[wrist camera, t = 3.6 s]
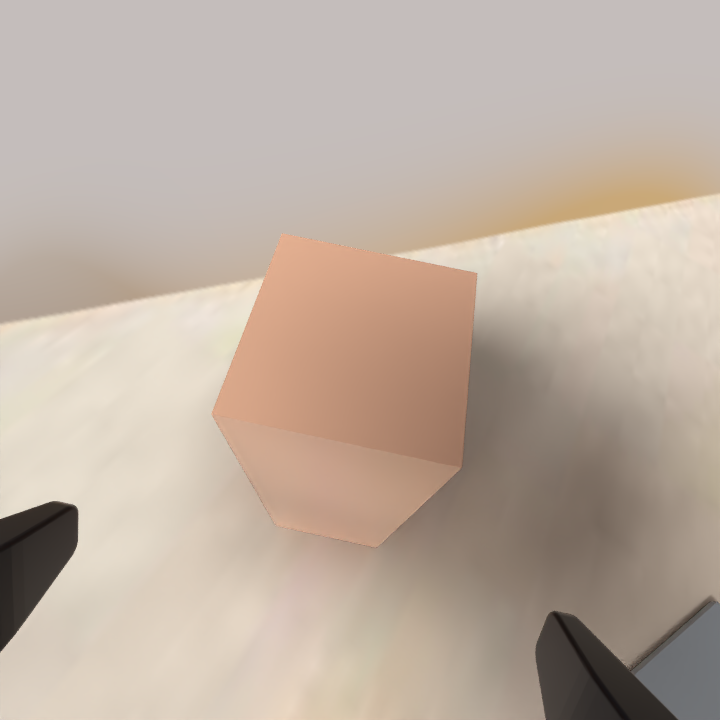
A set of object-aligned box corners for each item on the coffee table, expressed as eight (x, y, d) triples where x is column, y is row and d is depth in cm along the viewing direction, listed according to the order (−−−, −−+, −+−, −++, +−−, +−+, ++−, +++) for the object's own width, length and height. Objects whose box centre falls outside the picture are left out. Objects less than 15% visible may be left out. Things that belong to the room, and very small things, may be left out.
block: (376, 547, 19) (462, 467, 8) (275, 525, 19) (211, 413, 8) (392, 449, 21) (477, 273, 10) (302, 429, 21) (282, 233, 10)
